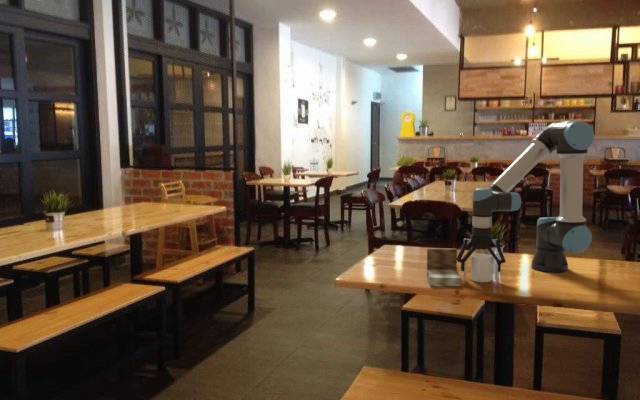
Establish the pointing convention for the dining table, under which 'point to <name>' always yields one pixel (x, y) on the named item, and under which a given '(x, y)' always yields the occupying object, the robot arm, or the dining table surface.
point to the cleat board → (442, 267)
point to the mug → (481, 267)
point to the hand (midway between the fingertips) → (480, 279)
